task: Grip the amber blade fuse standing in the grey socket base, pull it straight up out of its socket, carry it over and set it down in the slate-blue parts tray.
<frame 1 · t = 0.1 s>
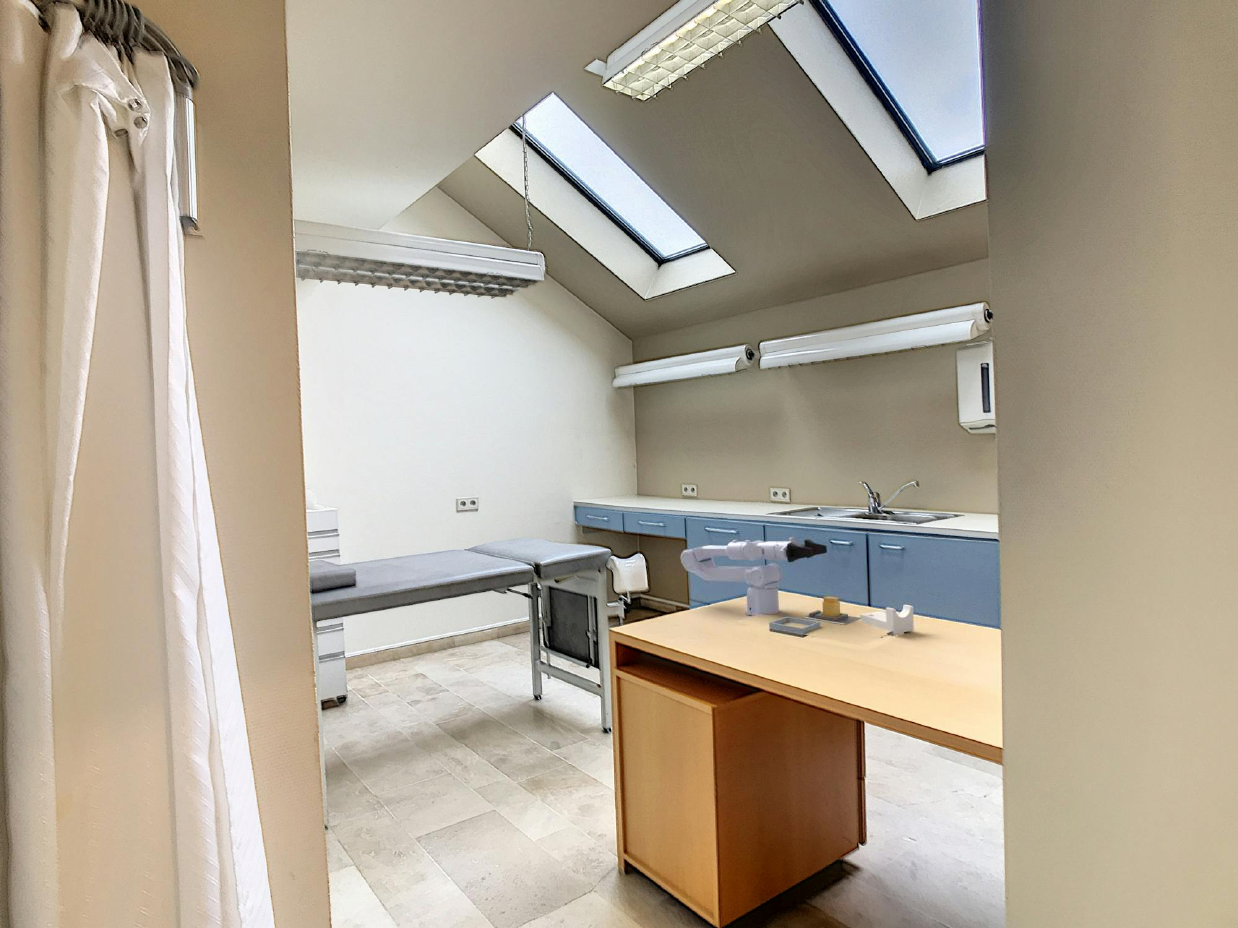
hand: (819, 550, 207), 22 cm above the table, tool horizontal, fingers open, 7 cm apart
bracket: (886, 630, 200), on the table
parts tray: (794, 631, 202), on the table
fuse: (831, 617, 210), point 1 cm above the table, touching grey socket base
grey socket base: (831, 621, 210), on the table
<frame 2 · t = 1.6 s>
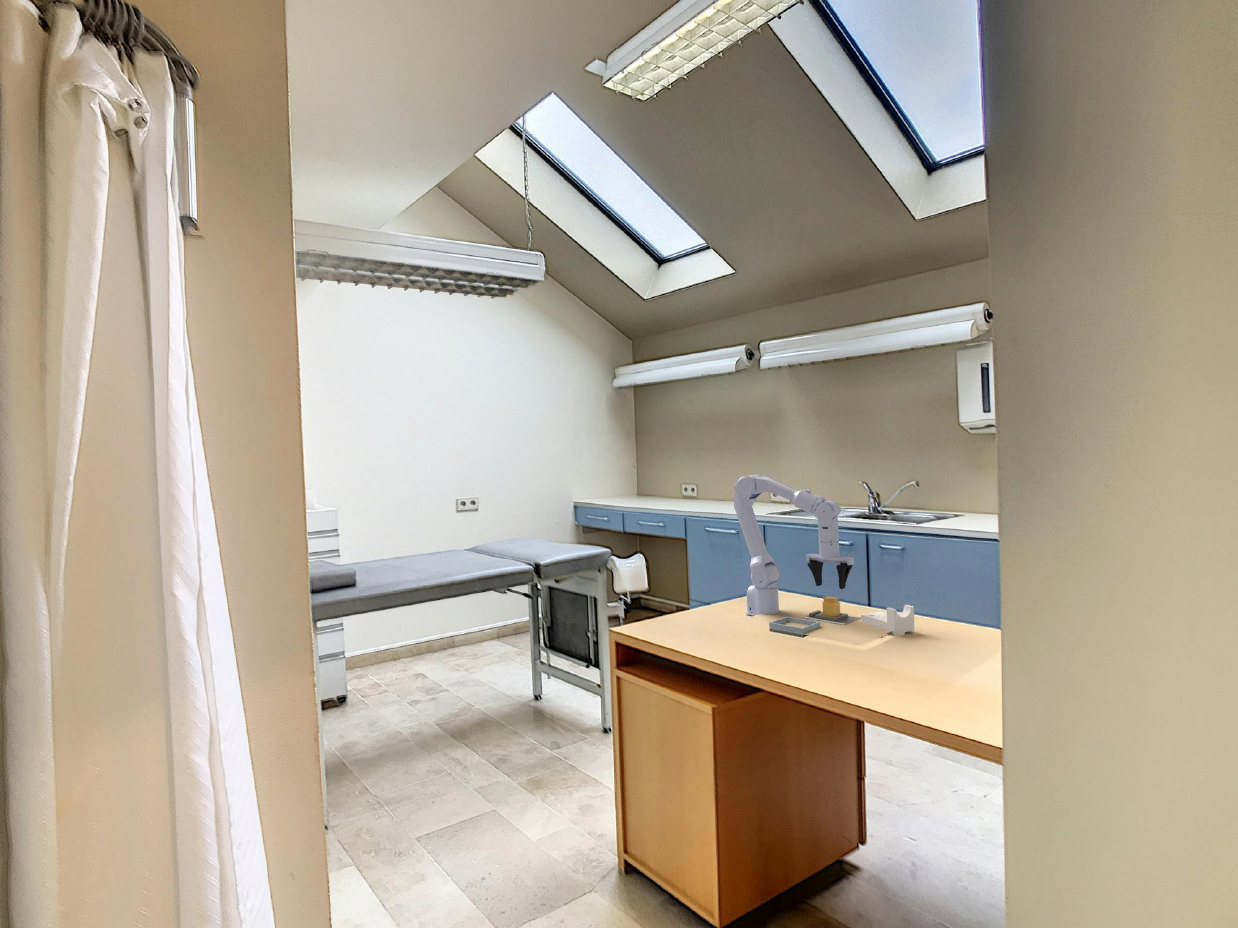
hand: (830, 587, 210), 10 cm above the table, tool pointing down, fingers open, 7 cm apart
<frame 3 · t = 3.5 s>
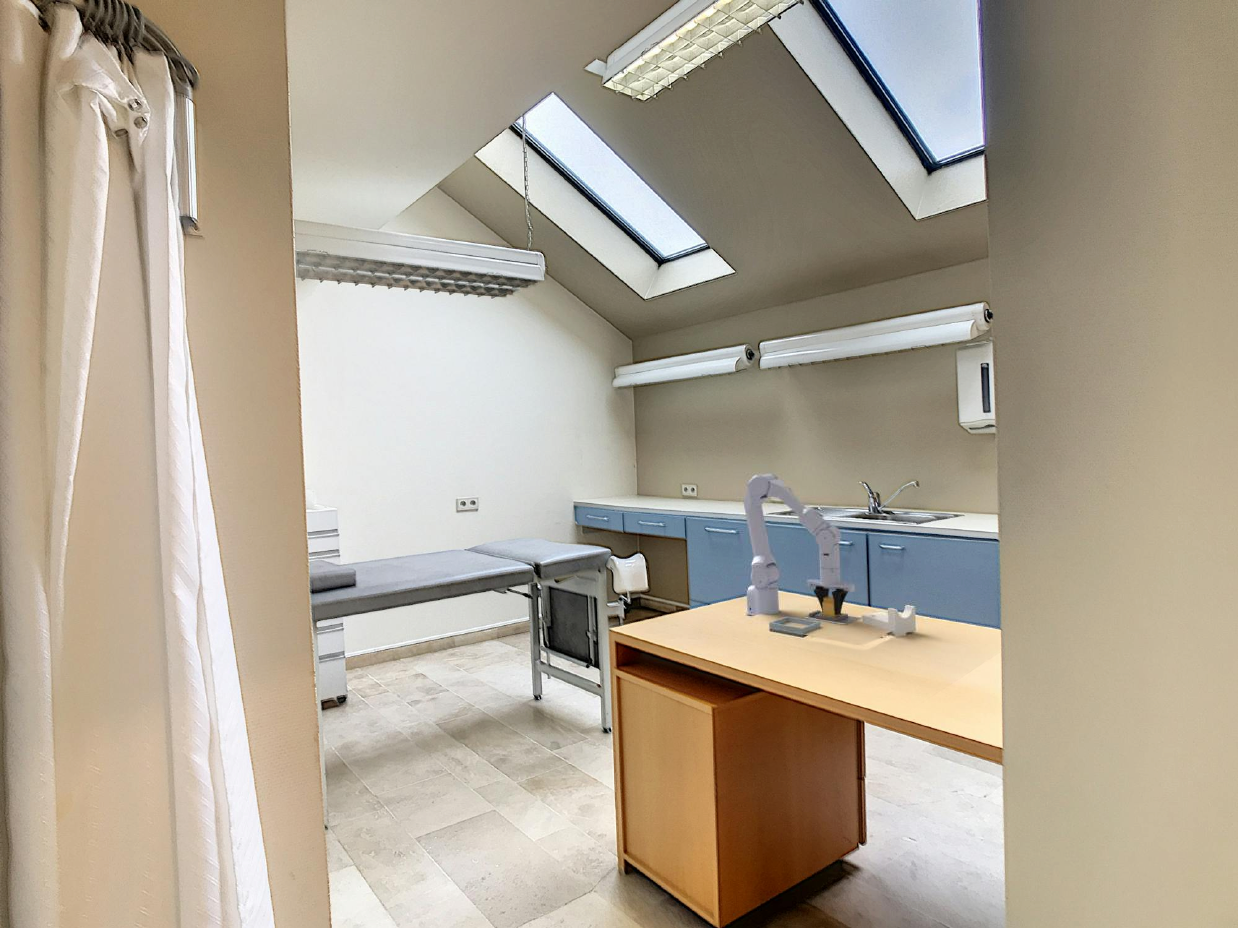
hand: (831, 613, 210), 3 cm above the table, tool pointing down, fingers closed on fuse, 4 cm apart
fuse: (831, 617, 210), point 1 cm above the table, touching grey socket base, gripper
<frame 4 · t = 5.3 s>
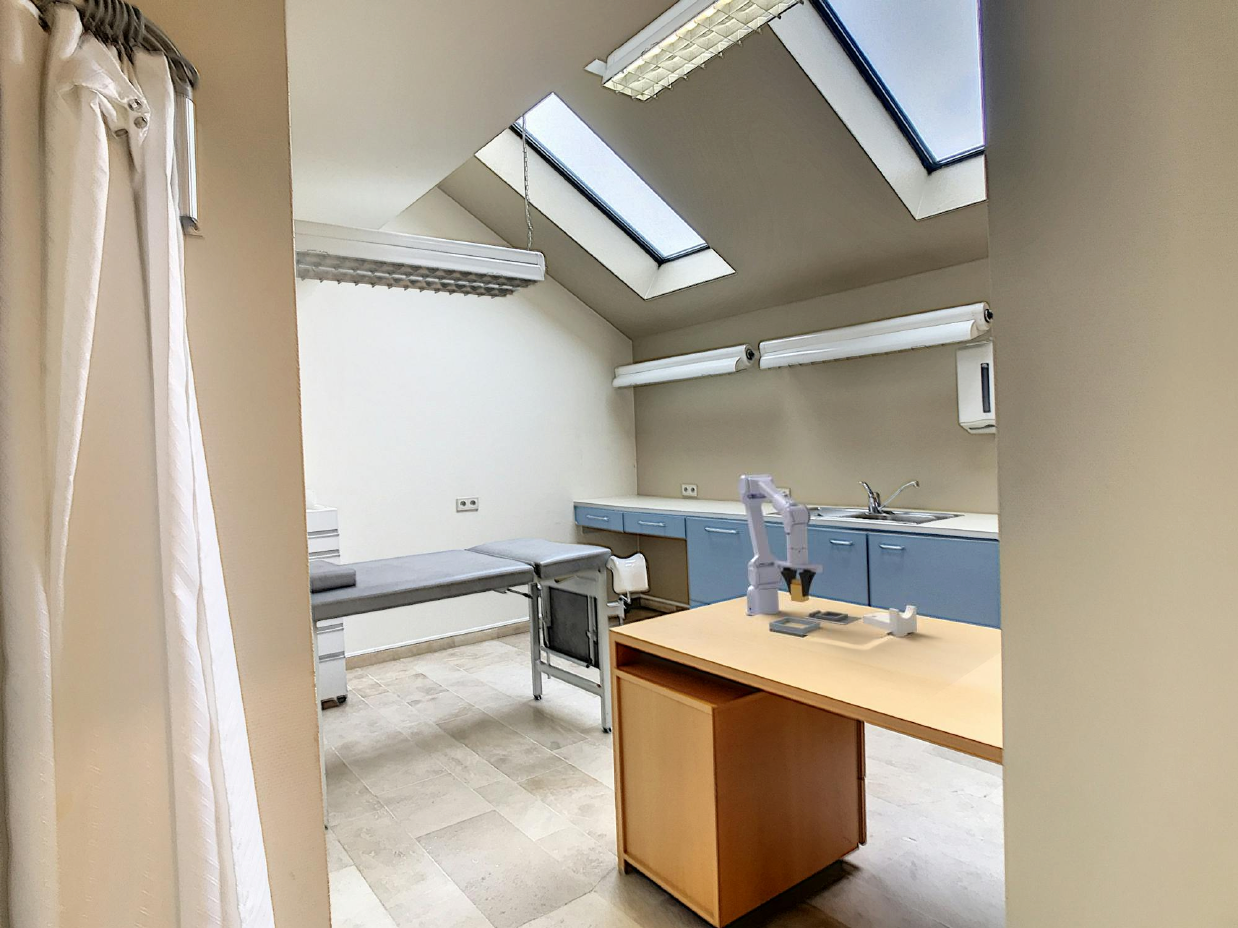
hand: (799, 595, 203), 10 cm above the table, tool pointing down, fingers closed on fuse, 4 cm apart
fuse: (800, 600, 203), point 8 cm above the table, touching gripper
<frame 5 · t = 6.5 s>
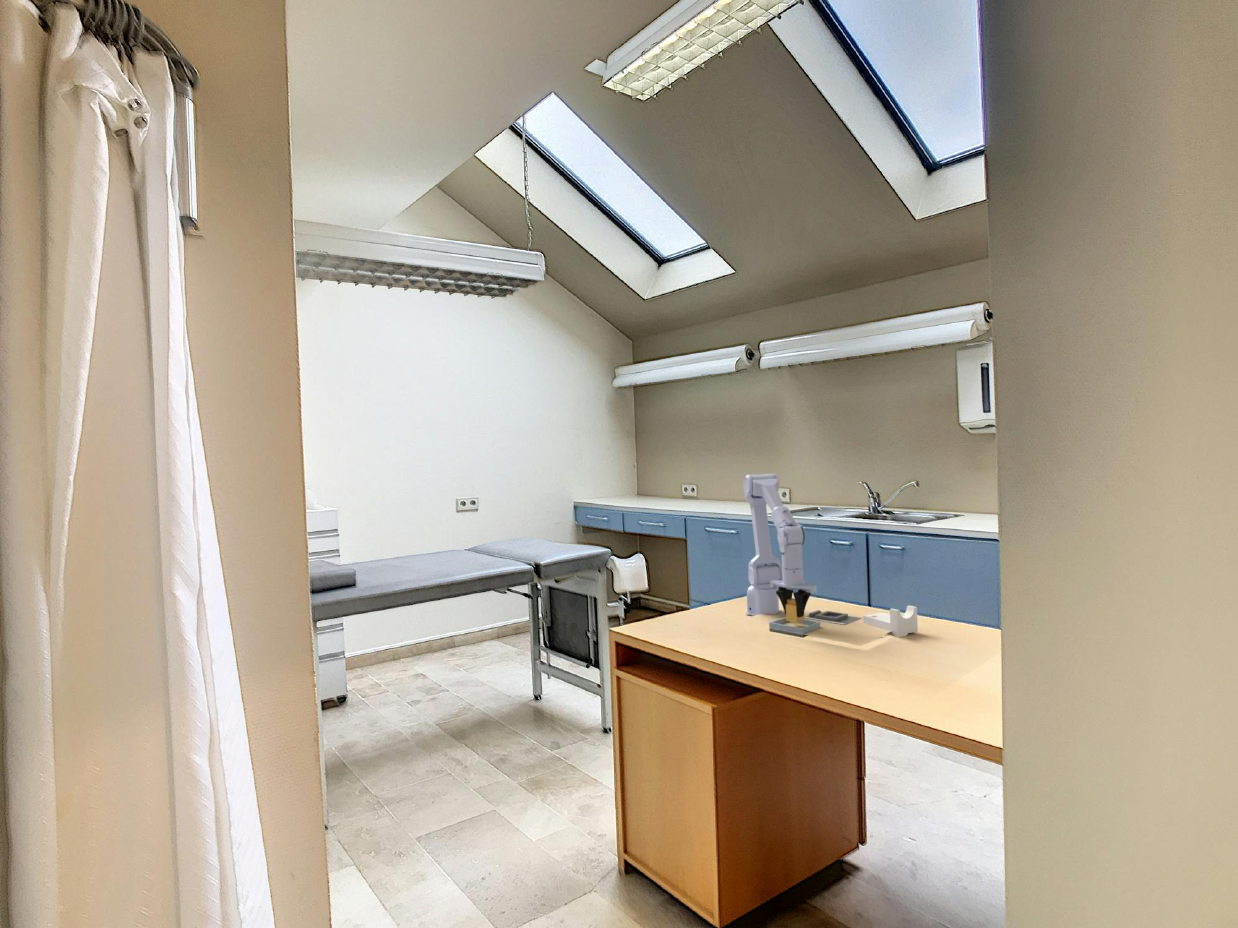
hand: (794, 615, 202), 4 cm above the table, tool pointing down, fingers closed on fuse, 4 cm apart
fuse: (795, 620, 202), point 3 cm above the table, touching gripper
when the fingers open (4 cm above the table, at t = 7.5 s): fuse drops 1 cm, resting on parts tray.
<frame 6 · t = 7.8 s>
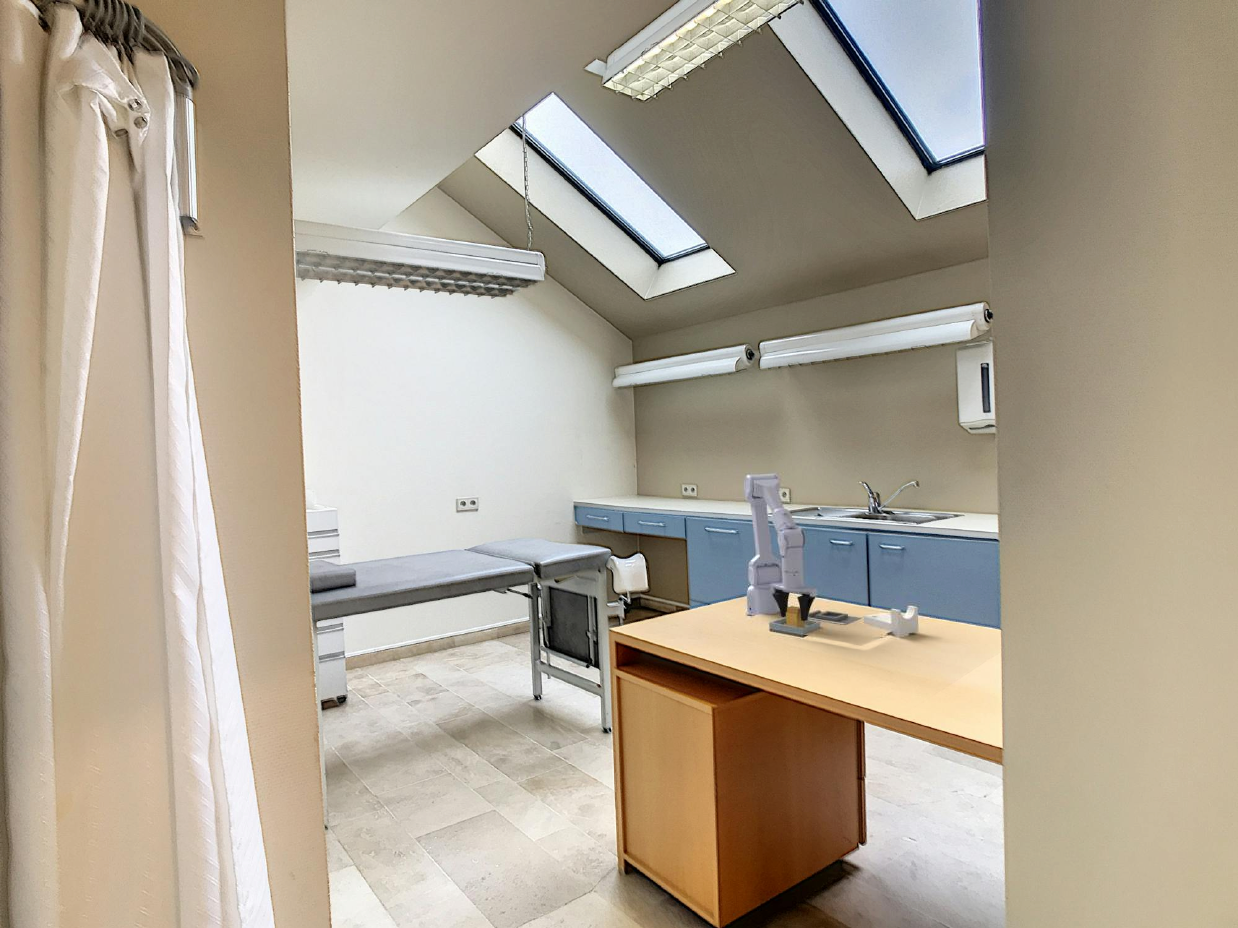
hand: (794, 618, 202), 4 cm above the table, tool pointing down, fingers open, 6 cm apart
fuse: (795, 628, 202), point 1 cm above the table, touching parts tray
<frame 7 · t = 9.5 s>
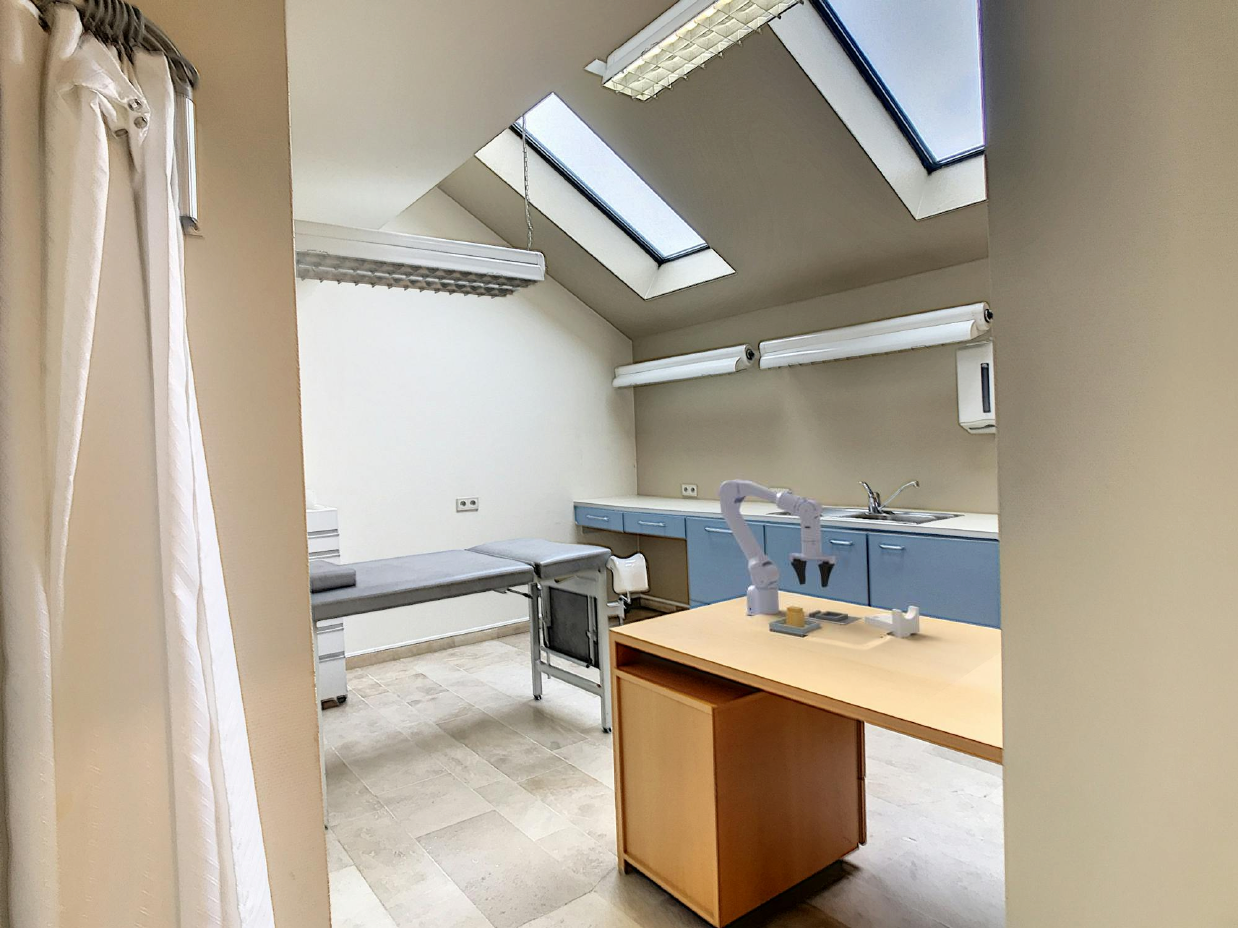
hand: (813, 585, 213), 10 cm above the table, tool pointing down, fingers open, 7 cm apart
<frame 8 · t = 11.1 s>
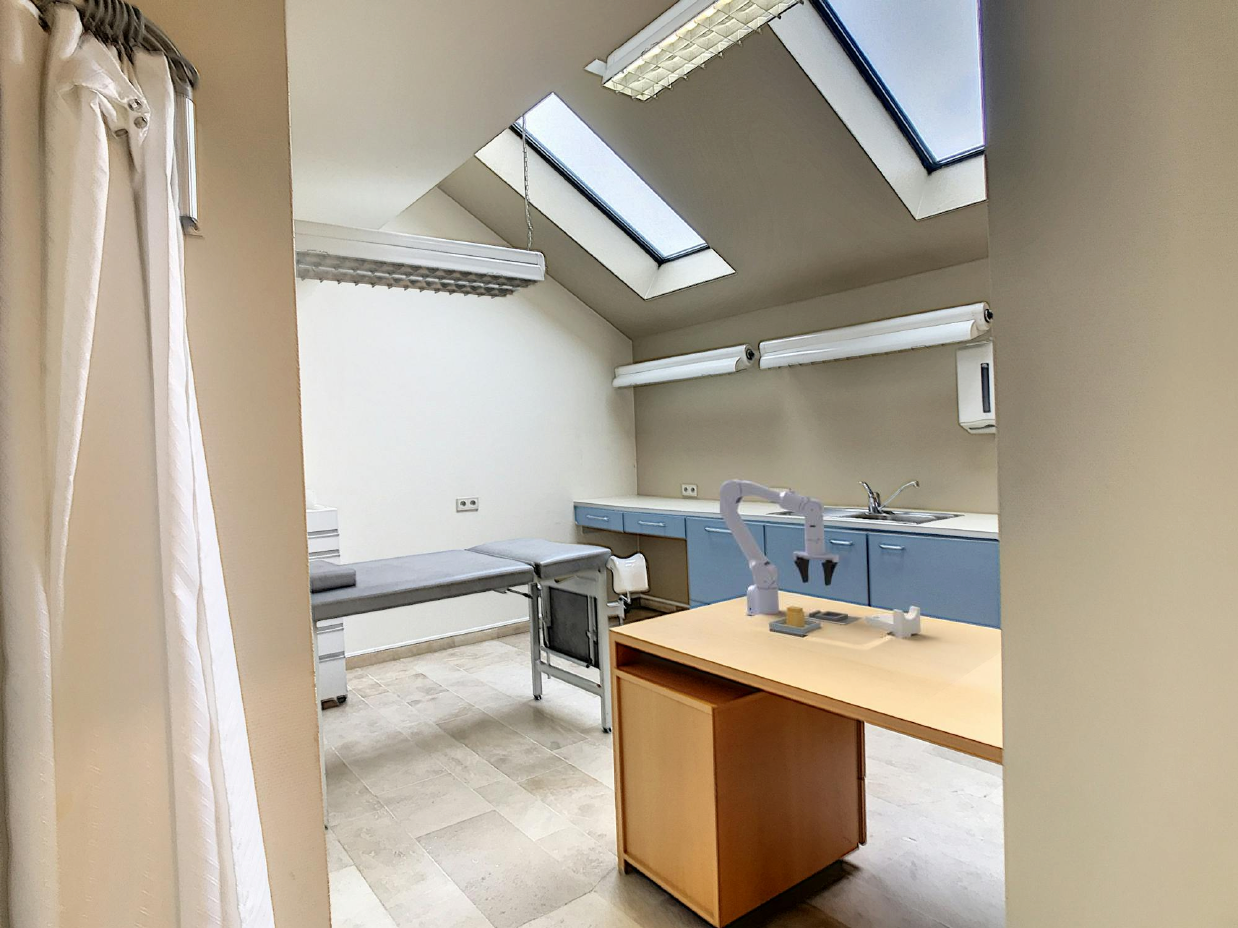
hand: (816, 583, 215), 10 cm above the table, tool pointing down, fingers open, 7 cm apart
at the end: fuse inside the target area on the parts tray (0.4 cm from its centre), point 0.6 cm above the parts tray's base; the gripper is holding nothing; fuse touching parts tray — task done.
